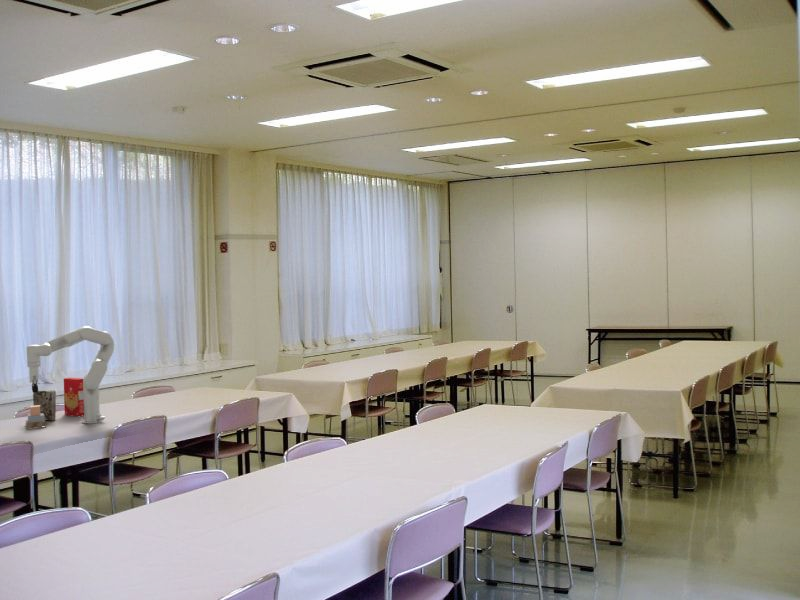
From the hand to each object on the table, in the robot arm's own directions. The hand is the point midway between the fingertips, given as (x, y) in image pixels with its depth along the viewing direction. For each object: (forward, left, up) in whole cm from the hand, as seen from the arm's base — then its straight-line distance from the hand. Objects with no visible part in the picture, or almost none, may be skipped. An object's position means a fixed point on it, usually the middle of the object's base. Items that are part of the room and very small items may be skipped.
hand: (35, 391), depth 513 cm
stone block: (+8, -20, -23) cm, 31 cm away
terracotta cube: (+1, -1, -15) cm, 15 cm away
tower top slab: (0, -1, -19) cm, 19 cm away
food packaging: (0, -41, -23) cm, 47 cm away
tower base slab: (+1, 0, -23) cm, 23 cm away
